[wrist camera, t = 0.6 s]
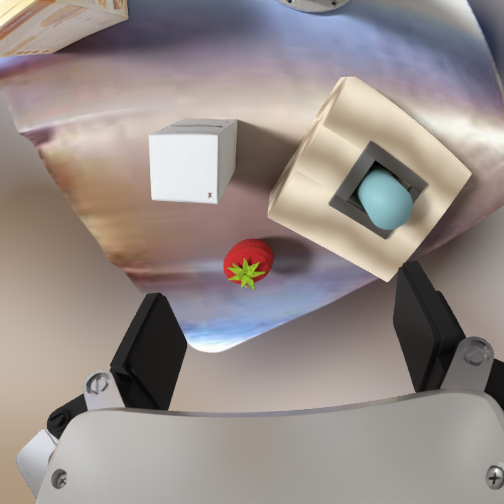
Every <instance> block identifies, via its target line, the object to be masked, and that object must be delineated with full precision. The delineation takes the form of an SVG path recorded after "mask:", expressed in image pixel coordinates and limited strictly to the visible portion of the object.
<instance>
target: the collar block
mask: <svg viewBox="0 0 504 504" xmlns="http://www.w3.org/2000/svg"><path fill="white" fill-rule="evenodd" d="M375 160H376V161H377V162H379V163H380V164H382V165H383V166H385V167H386V168H387V171H388V172H389V173H390V174H391V175H392V176H393V177H394V178H395V179H396V180H397V181H398V182H399V183H400V184H401V185H402V186H403V187H404V188H405V189H406V190H407V191H408V192H409V194H410V195H411V198H412V201H413V209H412V213H411V215H410V217H409V219H408V220H407V221H406V222H405V223H404V224H403V225H402V226H400V227H398V228H396V229H392V230H385V229H381V228H379V227H377V226H376V225H375V224H374V223H373V222H372V220H371V219H370V217H369V215H368V213H367V212H366V210H365V208H364V206H363V205H362V203H361V201H360V200H359V198H358V196H357V195H356V193H355V189H356V187H357V186H358V184H359V183H360V182H361V180H362V179H363V177H364V176H365V174H366V173H367V171H368V170H369V168H370V167H371V165H372V164H373V162H374V161H375ZM471 174H472V173H471V172H470V171H469V170H468V169H467V168H466V167H465V166H464V165H463V164H462V163H461V162H460V161H459V160H458V159H457V158H456V157H455V156H454V155H453V154H452V153H451V152H450V151H449V150H448V149H447V148H446V147H445V146H444V145H443V144H442V143H440V142H439V141H438V140H437V139H436V138H435V137H434V136H433V135H431V134H430V133H429V132H428V131H427V130H426V129H425V128H423V127H422V126H421V125H420V124H419V123H417V122H416V121H415V120H414V119H413V118H411V117H410V116H409V115H408V114H406V113H405V112H404V111H403V110H401V109H400V108H399V107H397V106H396V105H395V104H394V103H392V102H391V101H390V100H388V99H387V98H386V97H384V96H383V95H381V94H380V93H379V92H377V91H376V90H374V89H373V88H372V87H370V86H369V85H367V84H366V83H364V82H363V81H361V80H360V79H358V78H357V77H340V79H339V81H338V82H337V84H336V85H335V87H334V89H333V90H332V92H331V93H330V95H329V97H328V98H327V100H326V102H325V103H324V105H323V106H322V108H321V110H320V111H319V113H318V115H317V116H316V118H315V119H314V121H313V123H312V124H311V126H310V128H309V129H308V131H307V133H306V134H305V136H304V137H303V139H302V141H301V142H300V144H299V146H298V147H297V149H296V151H295V152H294V154H293V156H292V157H291V159H290V161H289V162H288V164H287V165H286V167H285V169H284V170H283V172H282V174H281V175H280V177H279V179H278V180H277V182H276V184H275V185H274V187H273V189H272V190H271V192H270V198H269V209H268V218H270V219H272V220H274V221H276V222H278V223H279V224H281V225H283V226H285V227H287V228H289V229H291V230H293V231H295V232H297V233H299V234H300V235H302V236H304V237H306V238H308V239H310V240H312V241H314V242H315V243H317V244H319V245H321V246H323V247H325V248H327V249H328V250H330V251H332V252H334V253H336V254H338V255H339V256H341V257H343V258H345V259H347V260H349V261H350V262H352V263H354V264H356V265H358V266H359V267H361V268H363V269H365V270H367V271H368V272H370V273H372V274H374V275H376V276H377V277H379V278H381V279H383V280H384V281H386V282H388V281H389V280H390V279H391V278H392V277H393V276H394V275H395V273H396V272H397V271H398V268H399V267H401V266H402V265H403V263H405V262H406V261H407V259H408V258H409V257H410V256H411V255H412V253H413V252H414V251H415V250H416V249H417V247H418V246H419V245H420V244H421V242H422V241H423V240H424V239H425V237H426V236H427V235H428V234H429V232H430V231H431V230H432V228H433V227H434V226H435V225H436V223H437V222H438V221H439V219H440V218H441V217H442V215H443V214H444V213H445V211H446V210H447V209H448V207H449V206H450V205H451V203H452V202H453V200H454V199H455V198H456V196H457V195H458V193H459V192H460V190H461V189H462V188H463V186H464V185H465V183H466V182H467V180H468V179H469V177H470V176H471Z"/></svg>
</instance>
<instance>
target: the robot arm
mask: <svg viewBox="0 0 504 504" xmlns="http://www.w3.org/2000/svg"><path fill="white" fill-rule="evenodd" d="M277 1H278V2H280V3H282V4H284V5H285V6H287V7H290V8H293V9H295V10H299V11H304V12H313V13H319V12H328V11H331V10H335V9H337V8H339V7H342V6H343V5H345V4H346V3H347V2H349V1H350V0H291V1H292V2H291V3H289V2H288V1H289V0H277ZM332 3H335V5H333V4H332ZM393 324H394V328H395V331H396V334H397V337H398V339H399V342H400V345H401V348H402V351H403V354H404V357H405V361H406V363H407V366H408V370H409V373H410V377H411V380H412V383H413V387H414V390H415V392H416V393H413V394H408V395H403V396H398V397H392V398H387V399H381V400H375V401H369V402H362V403H356V404H349V405H341V406H334V407H325V408H315V409H304V410H292V411H276V412H253V413H252V412H251V413H207V412H206V413H205V412H181V411H167V410H168V409H169V405H170V402H171V398H172V395H173V392H174V389H175V385H176V382H177V378H178V375H179V372H180V369H181V365H182V362H183V359H184V356H185V352H186V349H187V341H186V338H185V336H184V334H183V332H182V330H181V328H180V326H179V324H178V322H177V320H176V317H175V315H174V313H173V311H172V309H171V307H170V304H169V302H168V300H167V298H166V297H165V296H163V295H162V294H161V293H150V294H147V295H146V296H145V298H144V300H143V302H142V304H141V305H140V307H139V309H138V311H137V313H136V315H135V317H134V319H133V320H132V322H131V324H130V326H129V328H128V330H127V332H126V334H125V336H124V338H123V340H122V342H121V344H120V346H119V348H118V350H117V352H116V354H115V356H114V358H113V360H112V362H111V364H110V366H111V369H110V371H108V370H98V371H95V372H93V373H92V374H90V375H89V376H88V378H86V380H85V382H84V385H83V394H82V395H80V396H78V397H77V398H75V399H74V400H72V401H70V402H69V403H66V404H65V405H64V406H62V407H60V408H58V409H57V410H55V411H54V412H52V414H51V415H50V416H49V418H48V421H47V429H46V430H45V429H44V428H43V429H42V430H41V431H40V432H39V433H38V434H37V435H36V436H35V437H34V438H33V439H32V440H31V441H30V442H29V443H28V444H27V445H25V447H24V448H22V450H20V452H19V453H18V455H17V458H16V464H17V467H18V469H19V471H20V472H21V474H22V476H23V478H24V479H25V481H26V483H27V485H28V487H29V488H30V490H31V492H32V493H33V495H34V496H35V498H36V504H504V362H502V361H499V360H497V359H495V358H494V351H493V348H492V346H491V345H490V344H489V343H488V342H487V341H486V340H484V339H483V338H480V337H475V336H474V337H468V338H466V336H465V334H464V332H463V330H462V328H461V327H460V325H459V323H458V321H457V319H456V317H455V315H454V314H453V312H452V310H451V308H450V307H449V305H448V303H447V301H446V300H445V298H444V296H443V295H442V293H441V292H440V291H435V289H434V287H433V285H432V284H431V282H430V280H429V279H428V277H427V275H426V274H425V272H424V271H423V269H422V267H421V266H420V264H419V263H418V262H417V261H411V262H405V263H403V265H402V267H399V268H398V277H397V288H396V298H395V307H394V315H393ZM418 392H419V393H418Z"/></svg>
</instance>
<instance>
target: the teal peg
mask: <svg viewBox="0 0 504 504" xmlns="http://www.w3.org/2000/svg"><path fill="white" fill-rule="evenodd" d="M355 193H356V195H357V196H358V198H359V200H360V201H361V203H362V205H363V206H364V208H365V210H366V212H367V213H368V215H369V217H370V219H371V220H372V222H373V223H374V224H375V225H376V226H377V227H379V228H381V229H385V230H392V229H396V228H398V227H400V226H402V225H403V224H404V223H405V222H406V221H407V220H408V219H409V217H410V215H411V213H412V209H413V201H412V198H411V195H410V194H409V192H408V191H407V190H406V189H405V188H404V187H403V186H402V185H401V184H400V183H399V182H398V181H397V180H396V179H395V178H394V177H393V176H392V175H391V174H390V173H389V172H388V171H387V170H385V169H384V168H382V167H380V166H371V167H370V168H369V170H368V171H367V173H366V174H365V176H364V177H363V179H362V180H361V182H360V183H359V184H358V186H357V187H356V189H355Z"/></svg>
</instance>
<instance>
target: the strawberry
mask: <svg viewBox="0 0 504 504" xmlns="http://www.w3.org/2000/svg"><path fill="white" fill-rule="evenodd" d="M273 261H274V256H273V252H272V251H271V249H270V247H269V246H268V244H267V243H266V242H264V241H262V240H259V239H246V240H243V241H241V242H239V243H237V244H236V245H235V246H234V247H233V248H232V249H231V250H230V251H229V252H228V254H227V255H226V257H225V259H224V273H225V275H226V277H227V278H228V280H230V281H232V282H234V283H237V284H241V287H243V286H244V285H245V284H248V285H249V286H250V287H251V288H252V289H253V290H255V288H254V283H255V282H257V281H259V280H261V279H263V278H264V277H265V276H266V275H267V274H268V273H269V271H270V269H271V267H272V264H273ZM245 287H246V285H245ZM246 288H247V287H246Z"/></svg>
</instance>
